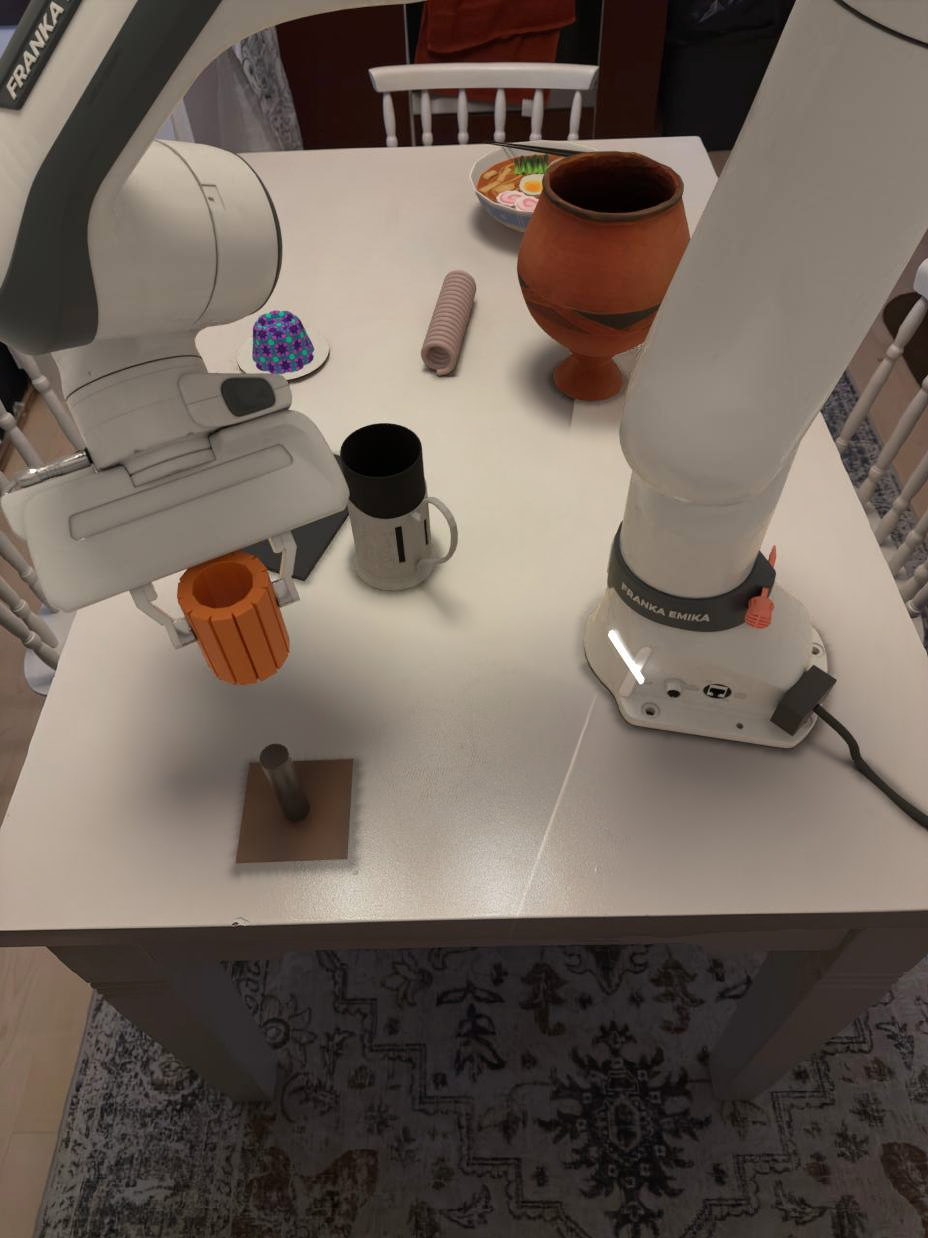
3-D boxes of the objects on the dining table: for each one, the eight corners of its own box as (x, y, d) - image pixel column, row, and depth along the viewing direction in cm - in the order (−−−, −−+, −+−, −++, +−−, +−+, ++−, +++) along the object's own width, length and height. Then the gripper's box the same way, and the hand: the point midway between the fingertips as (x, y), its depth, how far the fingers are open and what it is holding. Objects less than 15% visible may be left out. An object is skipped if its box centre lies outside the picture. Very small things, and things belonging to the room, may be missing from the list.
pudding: (322, 324, 114) (316, 288, 110) (336, 376, 107) (330, 340, 103) (234, 338, 112) (225, 303, 108) (242, 392, 105) (232, 356, 101)
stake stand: (354, 765, 73) (337, 702, 65) (349, 864, 68) (329, 810, 60) (252, 768, 73) (222, 706, 65) (239, 868, 68) (204, 815, 60)
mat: (379, 468, 96) (378, 465, 96) (304, 581, 86) (303, 577, 86) (244, 432, 101) (243, 429, 100) (158, 535, 91) (157, 532, 90)
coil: (456, 348, 103) (479, 269, 113) (419, 342, 103) (445, 263, 113) (454, 379, 106) (476, 300, 117) (418, 373, 106) (443, 294, 117)
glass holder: (399, 516, 92) (386, 405, 80) (490, 587, 85) (490, 479, 73) (337, 558, 88) (313, 449, 76) (426, 636, 82) (415, 530, 70)
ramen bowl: (439, 244, 126) (436, 189, 119) (495, 176, 138) (495, 123, 132) (598, 276, 119) (605, 220, 113) (641, 202, 132) (649, 148, 126)
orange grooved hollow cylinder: (304, 631, 60) (284, 564, 54) (263, 695, 57) (238, 631, 51) (235, 609, 62) (208, 540, 56) (192, 670, 59) (158, 604, 53)
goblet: (678, 429, 99) (726, 223, 79) (516, 432, 99) (524, 227, 80) (654, 334, 111) (691, 133, 91) (510, 337, 111) (515, 138, 91)
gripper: (-25, 475, 48) (78, 693, 50) (308, 368, 53) (385, 569, 56) (-2, 484, 54) (89, 679, 56) (296, 387, 59) (366, 568, 62)
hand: (239, 623), depth 56 cm, fingers closed on orange grooved hollow cylinder, 6 cm apart
